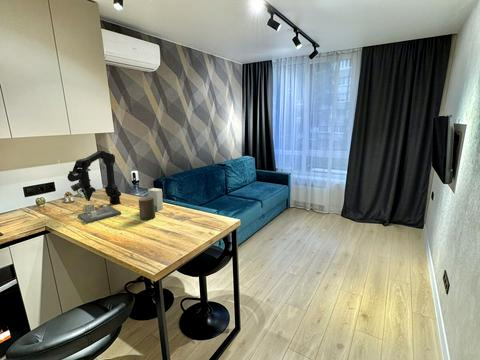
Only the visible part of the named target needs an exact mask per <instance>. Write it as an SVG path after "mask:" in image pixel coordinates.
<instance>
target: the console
mask: <svg viewBox="0 0 480 360" xmlns="http://www.w3.org/2000/svg"><path fill="white" fill-rule="evenodd" d="M95 211H96V213H97V217H94V218H93V217H92V216H91V213H87V214H85V213H84V212H81V213H77V218H78V219H79V220H81V221H82V222H84V223H85V224H86V225H88V224H92V223H95V222H99V221H102V220H106V219H110V218H113V217H116V216H117V215H118V216H120V215H122V211H120V210H119V209H116V208H114V207H113V206H108V211H104V210H103V207H102V208H98V209H95ZM118 216H117V217H118Z"/></svg>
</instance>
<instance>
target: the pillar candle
mask: <svg viewBox="0 0 480 360" xmlns="http://www.w3.org/2000/svg"><path fill="white" fill-rule="evenodd" d="M137 200H138V209H139V217H140V220H142V221H151V220H153V219H155V218H156V211H155V207H154V198H153V197H149V196H148V195H147V196H143V197H139V198H138V199H137Z"/></svg>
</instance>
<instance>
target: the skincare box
mask: <svg viewBox="0 0 480 360" xmlns="http://www.w3.org/2000/svg"><path fill="white" fill-rule="evenodd" d="M148 196H149V197H153V198H154V207H155V212H160V211H162V210H163V209H164V205H163V189H162V188H156V187H152V188H149V189H147V197H148Z"/></svg>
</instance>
